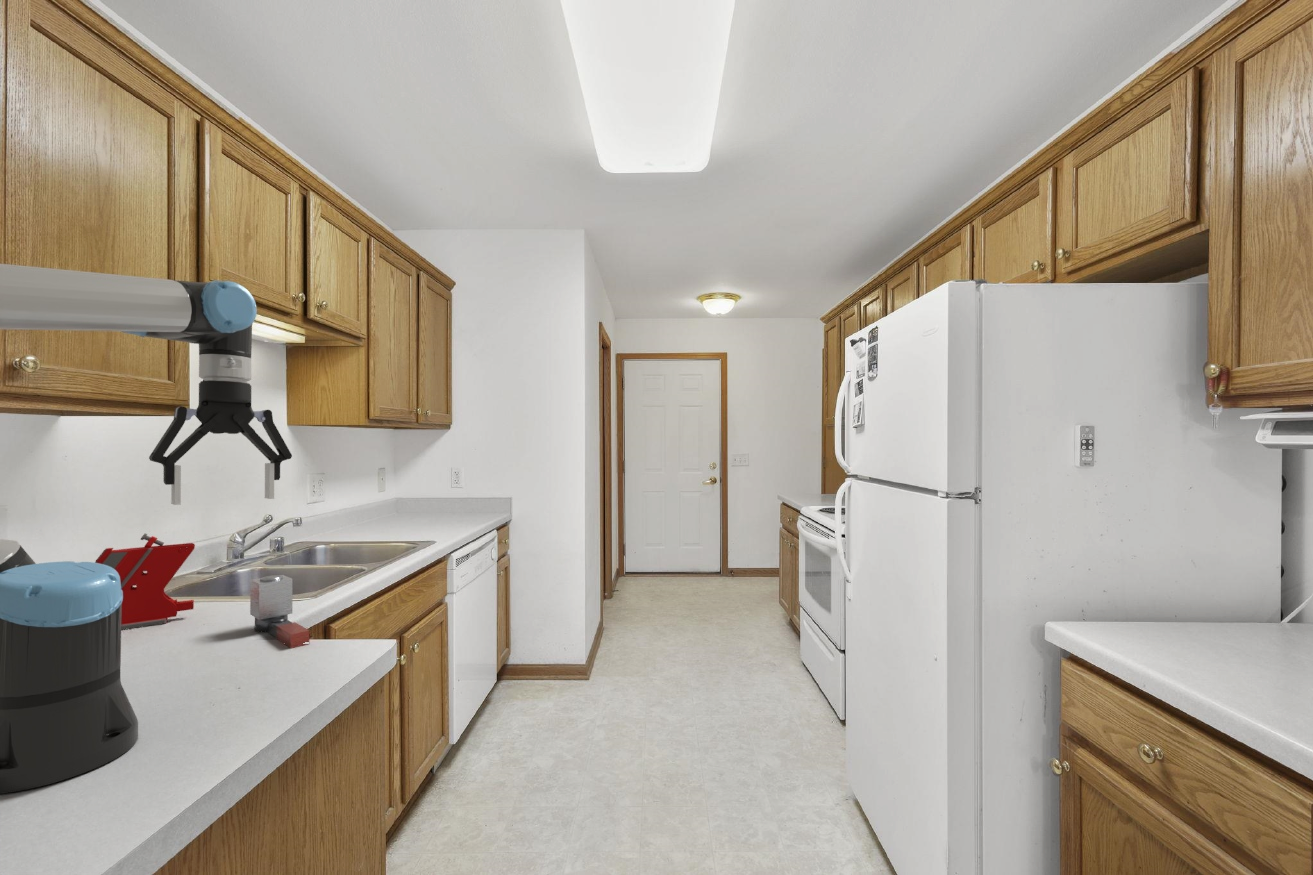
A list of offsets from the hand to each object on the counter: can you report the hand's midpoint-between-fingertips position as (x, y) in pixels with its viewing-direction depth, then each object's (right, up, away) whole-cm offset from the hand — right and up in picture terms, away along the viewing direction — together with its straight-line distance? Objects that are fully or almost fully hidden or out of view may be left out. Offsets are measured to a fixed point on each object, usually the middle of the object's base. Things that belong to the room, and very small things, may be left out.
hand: (225, 501), depth 103 cm
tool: (-38, -29, +20) cm, 52 cm away
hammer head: (-5, -26, +20) cm, 33 cm away
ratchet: (0, -29, +15) cm, 33 cm away
